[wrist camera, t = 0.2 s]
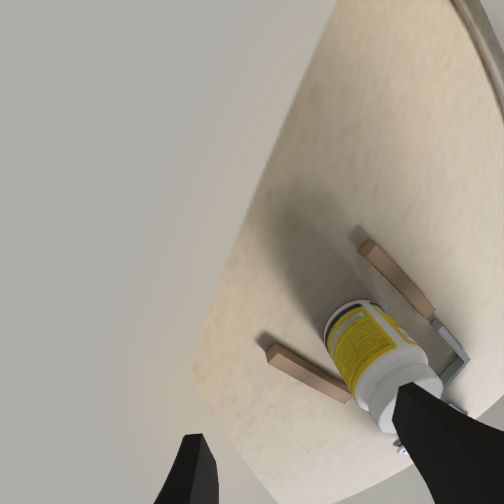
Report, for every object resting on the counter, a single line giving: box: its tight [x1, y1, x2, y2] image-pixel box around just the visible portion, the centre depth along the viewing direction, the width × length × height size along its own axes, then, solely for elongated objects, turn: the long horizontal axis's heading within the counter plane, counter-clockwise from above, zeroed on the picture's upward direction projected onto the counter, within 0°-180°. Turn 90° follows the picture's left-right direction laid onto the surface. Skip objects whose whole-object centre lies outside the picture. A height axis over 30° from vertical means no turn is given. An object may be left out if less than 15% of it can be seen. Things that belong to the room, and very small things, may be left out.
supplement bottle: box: [324, 300, 443, 433], centre depth 16 cm, size 5×5×8 cm
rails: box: [265, 239, 436, 404], centre depth 20 cm, size 8×10×1 cm
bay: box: [430, 319, 471, 390], centre depth 22 cm, size 8×9×1 cm
